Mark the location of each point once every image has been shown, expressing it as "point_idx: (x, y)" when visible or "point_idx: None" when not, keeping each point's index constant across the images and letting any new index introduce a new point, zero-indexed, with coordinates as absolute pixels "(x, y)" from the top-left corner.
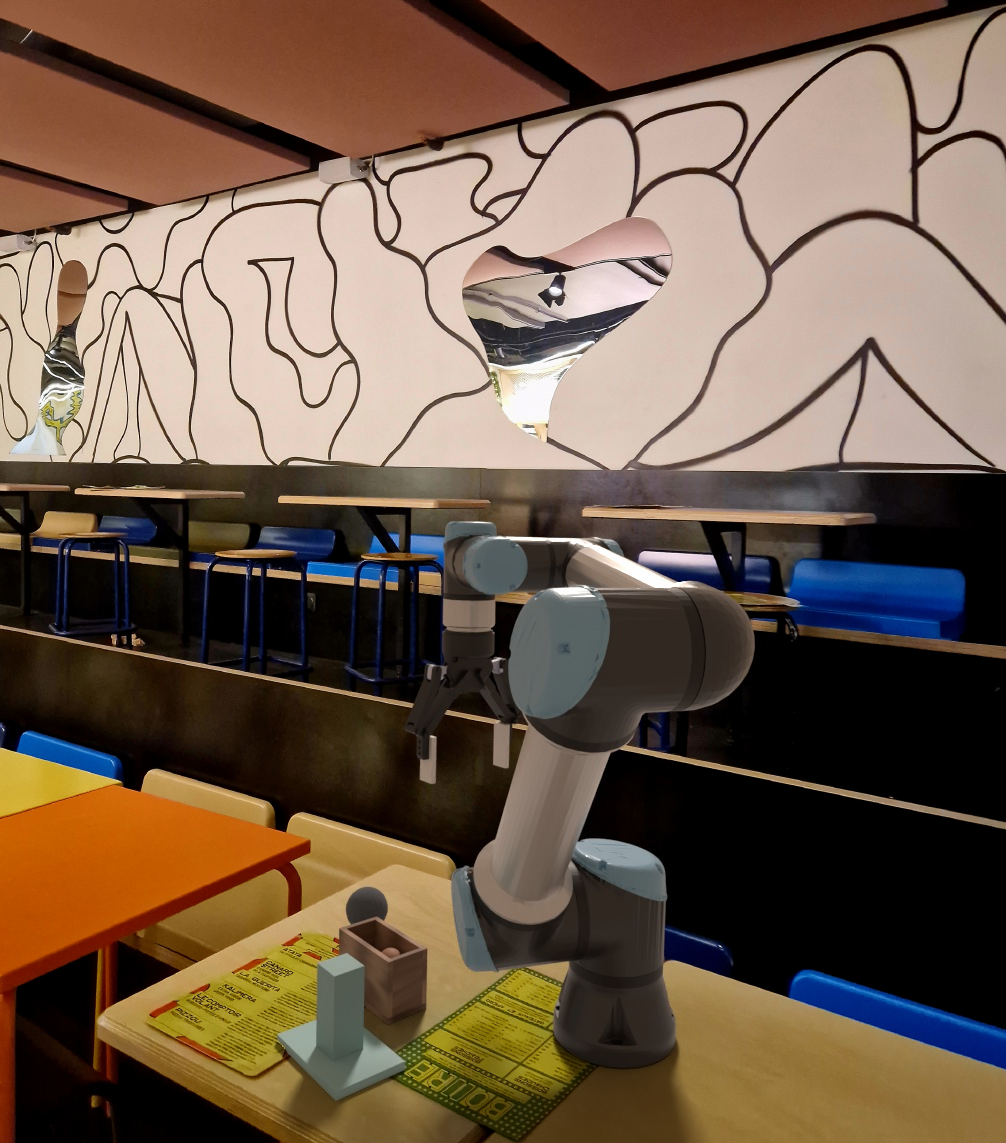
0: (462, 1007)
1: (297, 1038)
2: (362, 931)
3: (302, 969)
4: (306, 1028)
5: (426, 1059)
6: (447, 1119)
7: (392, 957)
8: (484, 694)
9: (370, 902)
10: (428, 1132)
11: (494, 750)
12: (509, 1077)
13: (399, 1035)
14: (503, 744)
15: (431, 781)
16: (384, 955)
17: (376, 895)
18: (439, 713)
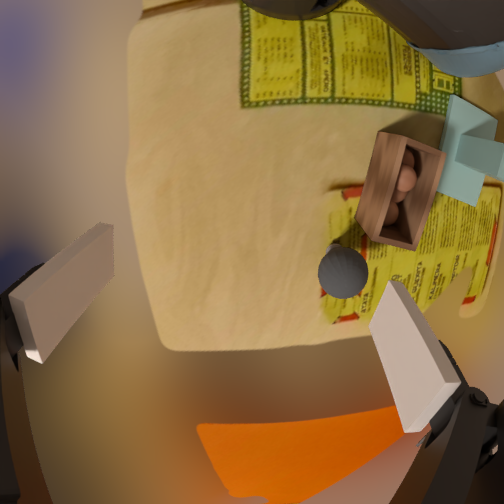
0: (353, 102)
1: (473, 189)
2: (391, 236)
3: (385, 274)
4: (462, 193)
5: (432, 86)
6: None
7: (412, 171)
8: (44, 501)
9: (358, 265)
10: None
11: (93, 295)
12: None
13: (422, 125)
14: (73, 268)
15: (404, 286)
16: (439, 166)
17: (348, 268)
18: (464, 472)
